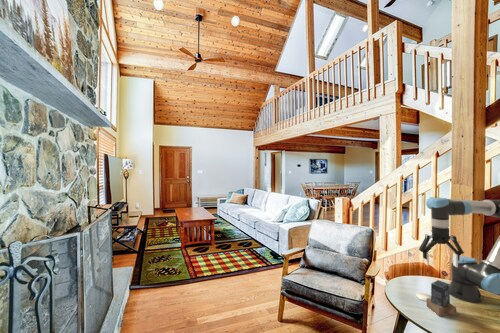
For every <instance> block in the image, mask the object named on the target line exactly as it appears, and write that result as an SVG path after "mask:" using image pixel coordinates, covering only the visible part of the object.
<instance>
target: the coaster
mask: <svg viewBox="0 0 500 333" xmlns="http://www.w3.org/2000/svg"><path fill="white" fill-rule="evenodd" d="M415 296H416V298H418V299H419V300H421V301H422V302H426V303H427V298H431V294H428V293H424V292H417V293H416V294H415Z"/></svg>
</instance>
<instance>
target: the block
mask: <svg viewBox="0 0 500 333" xmlns="http://www.w3.org/2000/svg"><path fill="white" fill-rule="evenodd" d="M426 307H427V308H428V309H429V310H430V309H431V310H430V311H431V312H433V313H434V312H435V313H436V314H435V313H434V314H435V315H436V316H438V317H457V306H454V305H453V304H452V303H451V302H450V303H449V304H447V305H446V306H444V307H441V306H439V305H436V304H434V303H432V302H431V298H427V302H426Z"/></svg>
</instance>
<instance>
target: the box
mask: <svg viewBox="0 0 500 333" xmlns="http://www.w3.org/2000/svg"><path fill="white" fill-rule="evenodd" d="M430 286H431V289H430V295H431V302H432V303H434V304H436V305H439V306H441V307H444V306H446V305H447V304H449V303H450V304H451V302H450V300H451V298H450V296H451V294H450V283H448V282H444V281H443V280H442V281H441V280H439V279H438V280H436V281H434V282H431V285H430Z"/></svg>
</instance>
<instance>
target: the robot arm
mask: <svg viewBox="0 0 500 333" xmlns="http://www.w3.org/2000/svg"><path fill="white" fill-rule="evenodd" d="M425 204H426V205H425V206H426V207H427V208H428V209H430V210H431V235H430V234H427V233H426V234H424V235H425V236H424V239H423V240H422V243H421V245H420V246H419V248H418V250H419V252H422V258H423V259H424V264H425V265H426V266H430V257H429V256H430V254H429V251H430V250H431V249H433V248H434V246H435V245H447V246H448V247H449V249H450V250H452V252H453V253H452V258H451V268H450V269H451V281H450V283H449V284H450V296H452V297H453V298H456V299H458V300H461V301H464V302H469V303H481V302H482V300H483V297H482V293H481V291H480V289H482V290H484V291H486V292H488V293H490V294H493V295H500V235H499V236H498V238H497V240H496V241H495V243H494V245H493V246H492V248H491V250H490V251H489V253H488V255H487V257H486V259H484V260H480V262H479V261H478V260H477V259H476V258H474V257H469V256H462V255H464V254H465V251H464V250H463V249H462V247H461V245H460V244H459V242H458V239H457V236H456V235H450V216H467V215H470V214H480V215H481V214H482V215H484V216H488V217H489V216H490V217H493V218H494V217H495V218H499V219H500V199H484V200H474V199H473V200H471V199H469V200H468V199H457V198H446V197H429V198H428V199H427V200H426V203H425ZM431 239H432V240H431ZM450 240H451V241H452V243H453V244H454V245H452V244H451V242H450ZM478 262H479V263H478ZM479 288H480V289H479Z"/></svg>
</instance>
